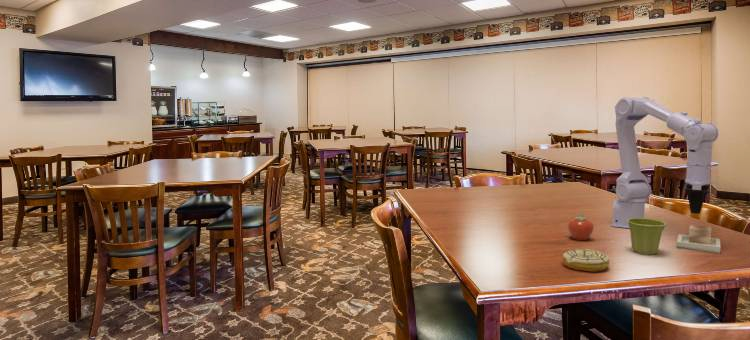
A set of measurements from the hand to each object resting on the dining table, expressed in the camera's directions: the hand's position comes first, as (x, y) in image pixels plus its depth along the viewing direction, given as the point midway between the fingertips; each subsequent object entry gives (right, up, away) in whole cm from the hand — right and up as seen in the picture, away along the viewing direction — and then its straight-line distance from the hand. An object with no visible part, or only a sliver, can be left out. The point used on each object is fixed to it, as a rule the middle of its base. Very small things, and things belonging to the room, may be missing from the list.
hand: (695, 210), depth 134 cm
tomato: (-30, -10, +8) cm, 33 cm away
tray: (-1, -10, -2) cm, 10 cm away
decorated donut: (-41, -13, -18) cm, 46 cm away
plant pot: (-19, -11, -6) cm, 23 cm away
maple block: (-1, -10, -2) cm, 10 cm away
